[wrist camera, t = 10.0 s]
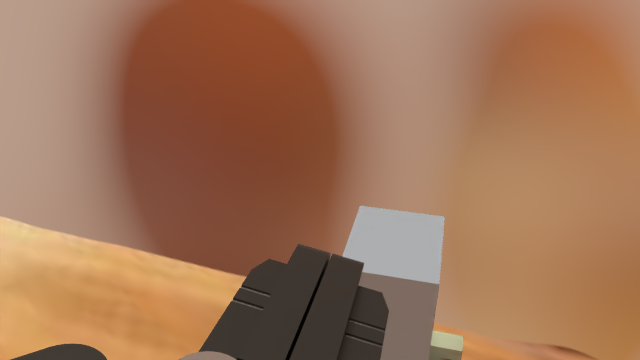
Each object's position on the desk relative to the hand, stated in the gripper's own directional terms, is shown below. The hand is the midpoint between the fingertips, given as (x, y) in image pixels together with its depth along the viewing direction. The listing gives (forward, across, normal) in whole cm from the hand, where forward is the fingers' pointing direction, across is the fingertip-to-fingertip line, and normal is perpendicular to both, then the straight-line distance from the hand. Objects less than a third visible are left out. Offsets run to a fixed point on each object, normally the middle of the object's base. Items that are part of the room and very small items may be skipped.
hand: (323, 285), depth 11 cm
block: (+16, -4, +20) cm, 26 cm away
